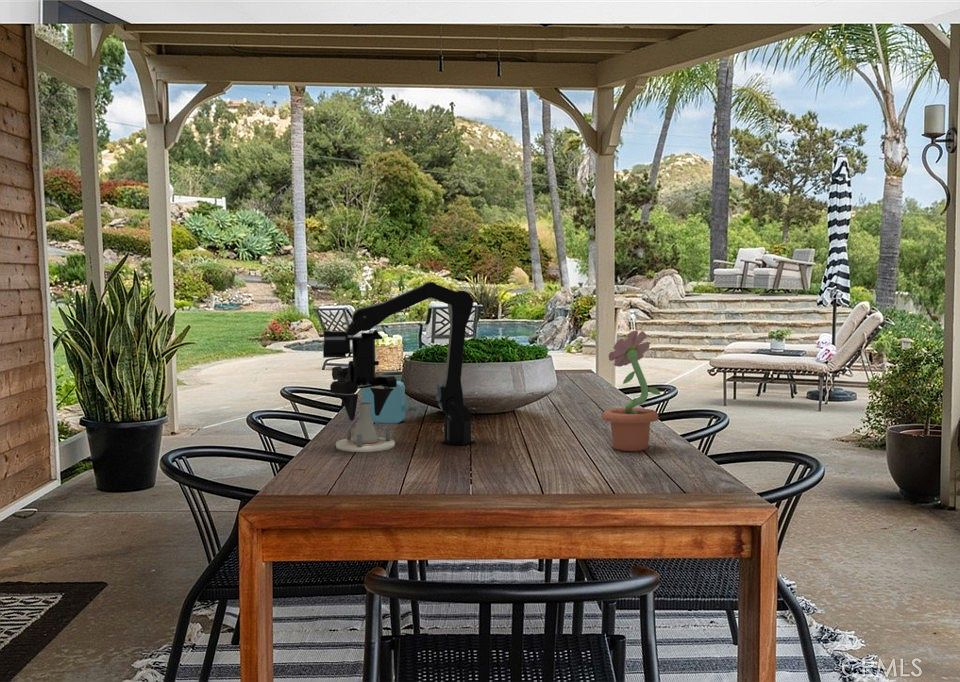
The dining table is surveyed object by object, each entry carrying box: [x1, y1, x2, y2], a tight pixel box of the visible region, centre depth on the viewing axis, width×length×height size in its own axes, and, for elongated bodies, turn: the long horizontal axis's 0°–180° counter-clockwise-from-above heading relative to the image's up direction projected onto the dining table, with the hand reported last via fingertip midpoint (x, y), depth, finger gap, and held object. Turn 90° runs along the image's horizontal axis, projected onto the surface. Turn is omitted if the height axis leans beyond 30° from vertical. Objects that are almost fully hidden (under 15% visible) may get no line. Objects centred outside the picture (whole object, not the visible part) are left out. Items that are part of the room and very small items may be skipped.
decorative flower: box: [602, 330, 661, 452], centre depth 228 cm, size 15×14×30 cm
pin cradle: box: [335, 427, 396, 453], centre depth 233 cm, size 15×15×4 cm
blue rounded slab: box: [361, 381, 406, 424], centre depth 270 cm, size 12×4×12 cm, turn 79°
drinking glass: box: [378, 370, 411, 412], centre depth 291 cm, size 10×10×12 cm
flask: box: [351, 401, 380, 444], centre depth 233 cm, size 7×7×10 cm
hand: (364, 417), depth 233 cm, fingers open, 9 cm apart
